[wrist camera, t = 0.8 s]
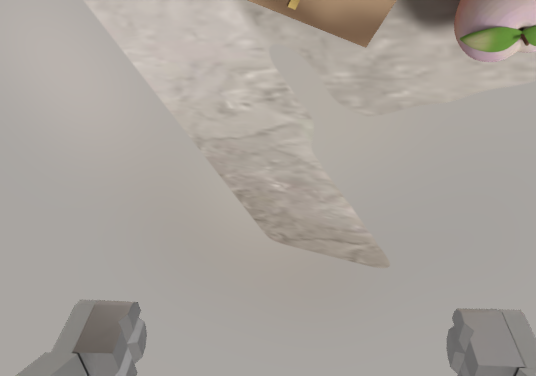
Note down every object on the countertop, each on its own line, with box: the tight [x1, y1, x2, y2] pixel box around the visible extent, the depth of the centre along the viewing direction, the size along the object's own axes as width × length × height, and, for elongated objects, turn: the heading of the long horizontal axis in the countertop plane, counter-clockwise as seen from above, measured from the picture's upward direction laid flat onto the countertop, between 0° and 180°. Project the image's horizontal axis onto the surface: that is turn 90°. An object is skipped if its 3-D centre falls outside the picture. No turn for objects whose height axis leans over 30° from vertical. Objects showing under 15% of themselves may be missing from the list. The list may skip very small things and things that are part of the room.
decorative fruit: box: [454, 0, 536, 62], centre depth 42 cm, size 9×8×10 cm
